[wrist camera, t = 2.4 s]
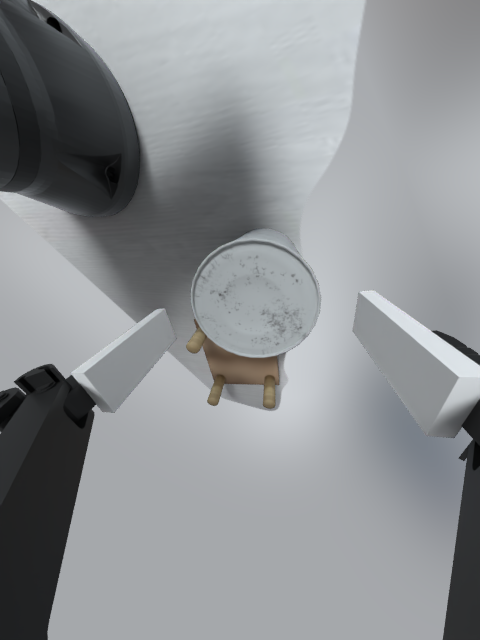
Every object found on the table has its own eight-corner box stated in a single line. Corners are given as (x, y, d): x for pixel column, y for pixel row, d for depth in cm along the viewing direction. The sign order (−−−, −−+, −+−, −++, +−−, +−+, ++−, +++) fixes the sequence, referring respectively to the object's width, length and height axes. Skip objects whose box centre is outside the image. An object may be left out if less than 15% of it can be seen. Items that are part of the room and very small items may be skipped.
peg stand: (198, 314, 29) (178, 339, 23) (273, 308, 26) (272, 335, 20) (217, 375, 35) (206, 407, 29) (278, 376, 33) (279, 411, 27)
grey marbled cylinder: (245, 310, 27) (227, 368, 17) (214, 250, 23) (165, 276, 13) (309, 286, 24) (336, 340, 13) (284, 211, 20) (294, 204, 10)
